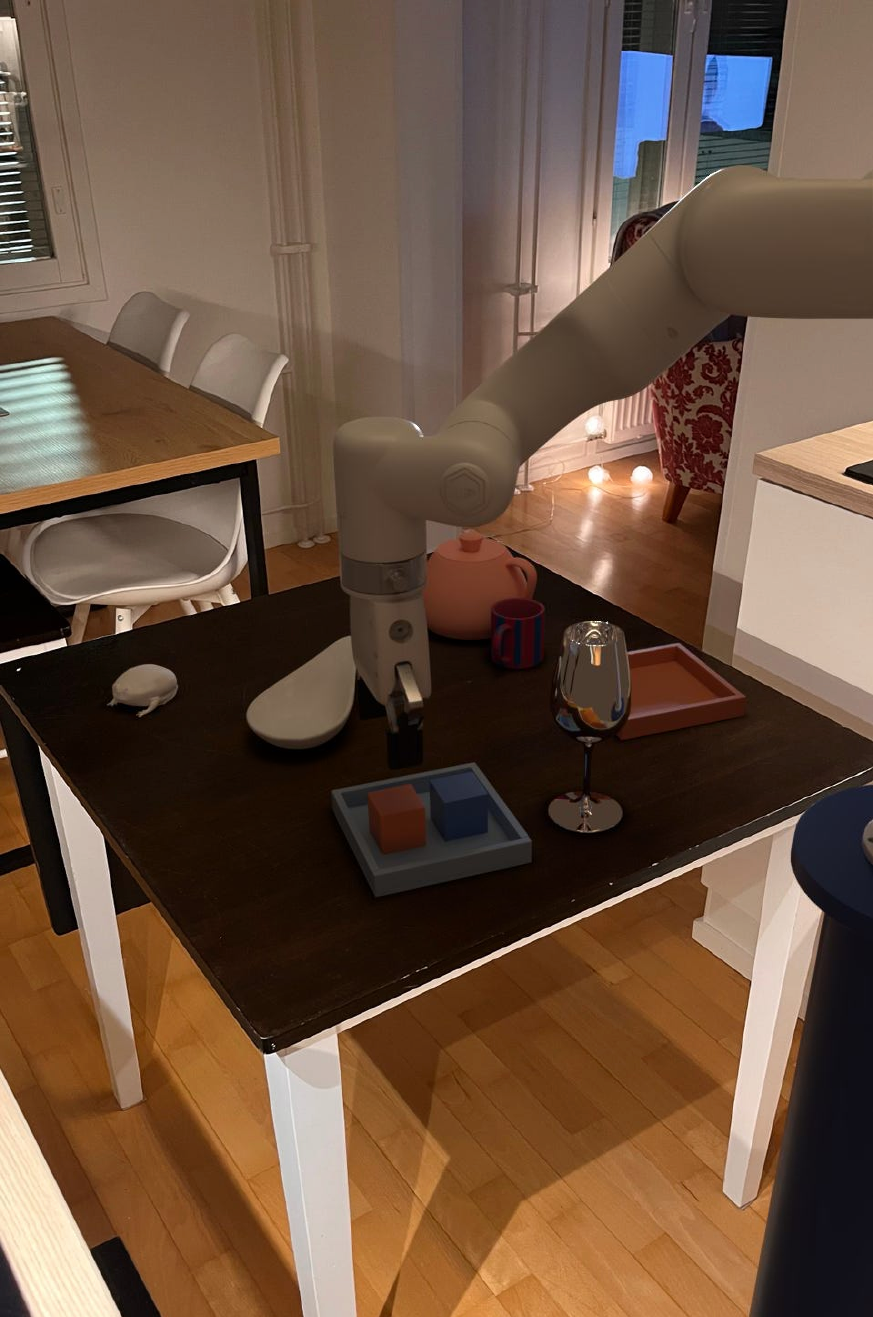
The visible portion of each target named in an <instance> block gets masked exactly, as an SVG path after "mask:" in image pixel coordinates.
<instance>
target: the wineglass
mask: <svg viewBox="0 0 873 1317" xmlns="http://www.w3.org/2000/svg"><path fill="white" fill-rule="evenodd" d="M625 636H626V635H625V633H624V631H623V629H621V628H620V627H619V626H617V625H615V624H613V623H609V622H604V621H599V620H598V621H597V620H596V621H595V620H590V621H580V622H576V623H574V624H571V625H570V626H568V627H567V628H565V630H564V633H563V637H562V640H561V643H560V646H559V651H558V653H557V654H558V655H557V658H556V662H555V666H554V669H553V674H552V678H551V679H552V680H551V687H550V697H549V706H550V713H551V715H552V718H553V721H554V723H555V724H556V725H557V727H558V728H559V729H560V731H561V732H562V733H563V734H564V735H566V736H567V737H569V738H570V739H571V740H573V741H575V742H578V743H581V744H582V747H583V782H582V790H577V791H576V790H575V791H570V792H565V793H563V794H561V795H559V796H557V797H556V798H554V799H553V800H552V801H551V802H550V803H549V805H548V808H547V814H548V817H549V819H550V820H551V821H552V822H553V823H554V824H555V825H556V826H558V827H560V828H562V829H563V830H566V831H568V832H569V831H570V832H573V833H578V834H598V833H603V832H606V831H609V830H611V829H613V828H615V827H616V826H617V825H619V824H620V823H621V821H622V820H623V817H624V809H623V808H622V806H621V804H620V803H619V802H618V801H617V800H615V799H614V798H612V797H610V796H609V795H606V794H604V793H600V792H597V791H591V776H592V760H593V752H594V747H595V745H596V744H600V743H604V742H606V741H607V740H610V739H611V738H613V737H615V736H617V735H616V734H617V733H618V732H619V731H620V730H621V729H622V728H623V726H624V725H625V724H626V722H627V720H628V718H629V715H630V713H631V707H632V682H631V673H630V666H629V659H628V653H627V652H628V649H627V648H628V647H627V643H626V642H627V641H626V637H625Z"/></svg>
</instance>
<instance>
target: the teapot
mask: <svg viewBox="0 0 873 1317" xmlns="http://www.w3.org/2000/svg"><path fill="white" fill-rule="evenodd" d="M523 572H524V573H525V575H526V578H527V580H526V578H525V575H524V573H523ZM537 580H538V573H537V569H536V568H535V566H534V565H533V564H532V563H531V562H530V561H528V560H527V559H525V558H522V557H514V556H513V555H512V553H511V551H510V550H509V549H508V548H507V547H506V546H505V545H504V544H503V543H502V542H499V541H498V540H495V539H492V538H486V537H484V535H483V534H482V533H480V532H476V531H467V532H462V533H460V534H459V536H458V538H454V539H450V540H446V541H444V542H443V543H441V544H440V545H439V546H437V547H436V549H435V550H434V551H433V553H432V554H431V555H430V557H429V559H427V586H426V588H425V589H424V590H423V591H421V593H422V596H423V601H424V607H425V614H426V622H427V629H429V630H430V631H431V632H433V633H435V634H437V635H439V636H442V637H445V638H449V639H454V640H462V641H463V640H465V641H477V640H478V641H479V640H487V639H491V607H492V605H493V604H495V603H496V602H498V601H501V600H504V599H510V598H526V599H531V600H533V597H534V593H535V589H536V588H537V582H538V581H537Z"/></svg>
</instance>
